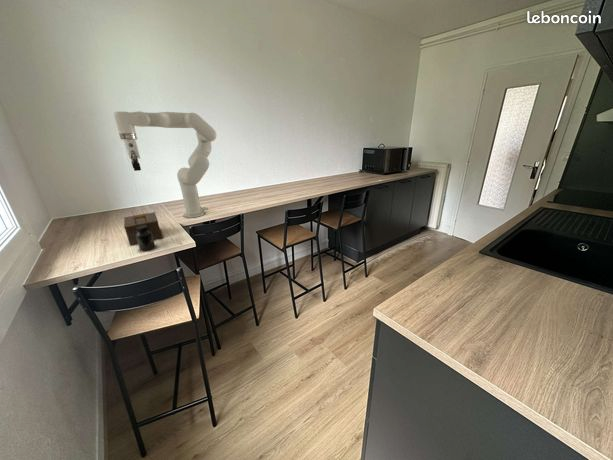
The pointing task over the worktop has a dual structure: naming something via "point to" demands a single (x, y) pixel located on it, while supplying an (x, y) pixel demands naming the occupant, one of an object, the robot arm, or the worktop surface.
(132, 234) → the walnut box
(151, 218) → the lid
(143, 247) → the supplement bottle
